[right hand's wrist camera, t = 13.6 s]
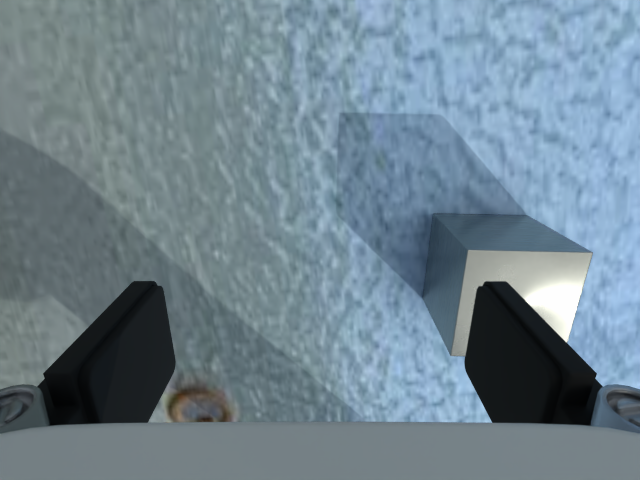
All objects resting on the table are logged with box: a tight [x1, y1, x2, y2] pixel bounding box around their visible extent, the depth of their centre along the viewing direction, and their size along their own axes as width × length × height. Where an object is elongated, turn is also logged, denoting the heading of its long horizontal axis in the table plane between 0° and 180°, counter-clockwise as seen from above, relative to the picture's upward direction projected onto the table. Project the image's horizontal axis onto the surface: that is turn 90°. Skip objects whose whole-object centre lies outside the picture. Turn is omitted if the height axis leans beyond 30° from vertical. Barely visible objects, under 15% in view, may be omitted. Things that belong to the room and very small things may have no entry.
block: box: [423, 214, 593, 356], centre depth 25 cm, size 7×7×7 cm
